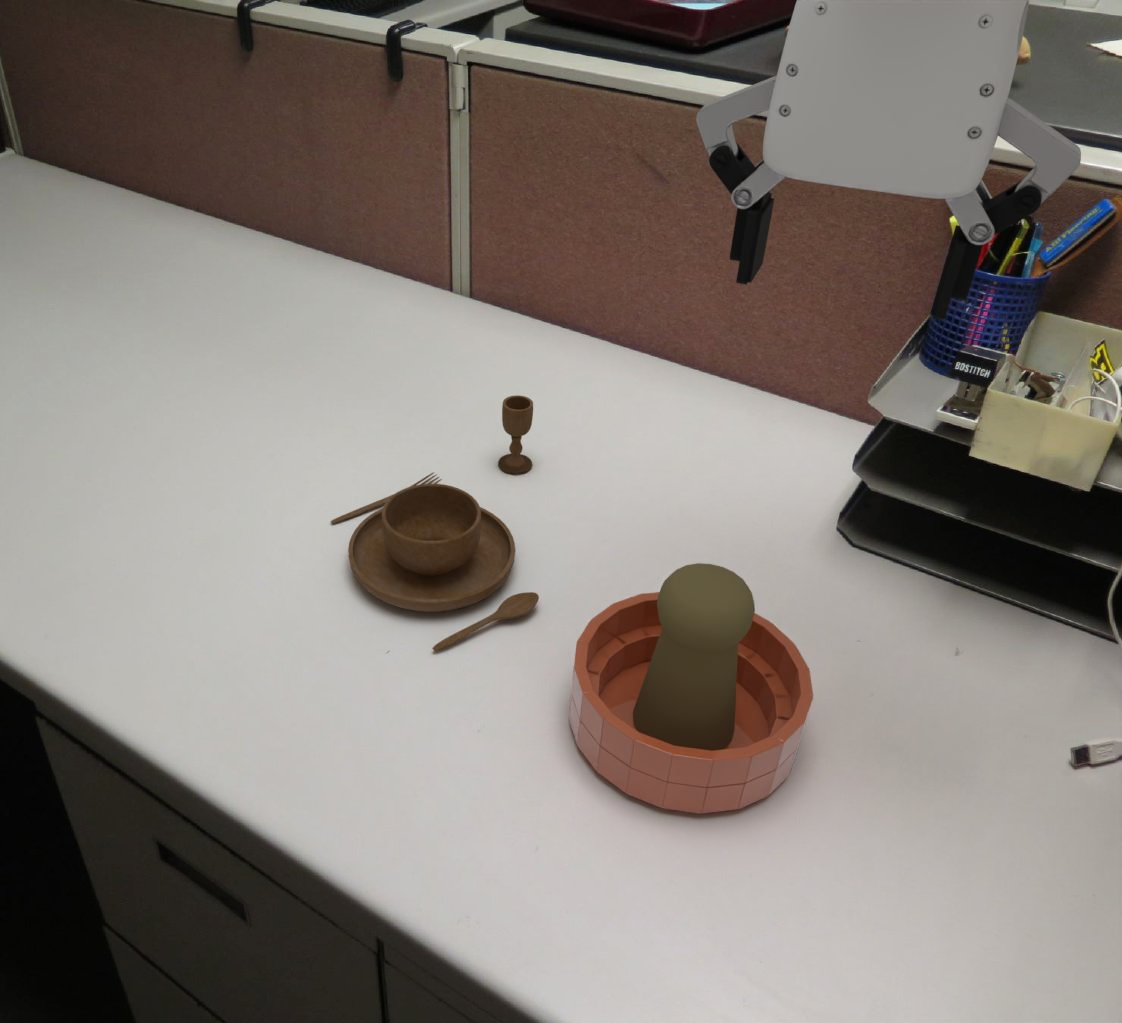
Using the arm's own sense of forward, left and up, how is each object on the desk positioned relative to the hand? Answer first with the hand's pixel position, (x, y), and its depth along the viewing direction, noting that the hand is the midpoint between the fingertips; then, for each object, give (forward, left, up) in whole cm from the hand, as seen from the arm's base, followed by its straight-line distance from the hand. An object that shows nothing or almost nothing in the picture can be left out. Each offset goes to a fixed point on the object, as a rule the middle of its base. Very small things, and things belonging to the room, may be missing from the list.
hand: (841, 291), depth 55 cm
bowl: (+2, +10, -25) cm, 27 cm away
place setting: (+21, 0, -25) cm, 33 cm away
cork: (+2, +10, -25) cm, 27 cm away
